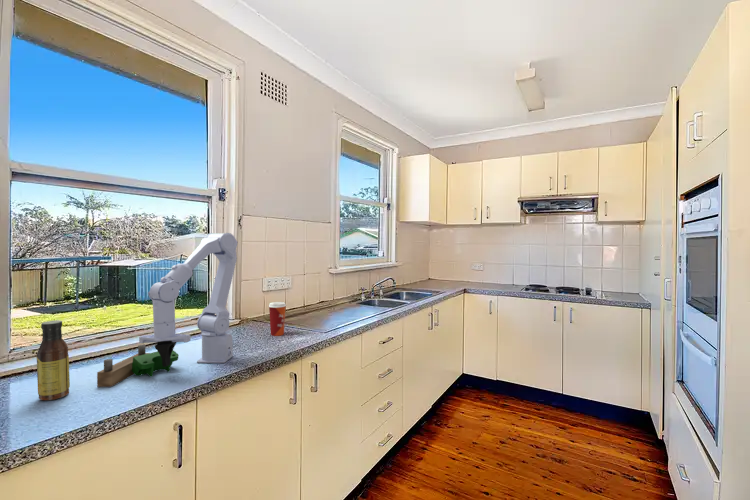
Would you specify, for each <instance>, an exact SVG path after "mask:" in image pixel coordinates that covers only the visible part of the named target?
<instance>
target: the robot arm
mask: <svg viewBox="0 0 750 500" xmlns="http://www.w3.org/2000/svg"><path fill="white" fill-rule="evenodd" d="M237 248H238V241H237V238H236V237H235V235H233V233H230V232H225V233H223V232H221V233H220V232H219V233H216V232H215V233H214V232H210V233H207V235H205V237H203V238H202V239H201V241H200V243H199V245H197V247H196V248H195V249H194V250H193V251H192V253H191V254H190V255H189V256H188V257H187V258H186V260H184V262H183V263H177V264H173V265H172V266H171V269H170V270H169V271H168V273H166V274H165V276H162V277H161V278H160V282H159V281H158V282H155V283H154V284H152V286H151V287H150V289H149V291H148V292H147V295H148V297H149V299H150V300H151V301H152V315H153V318H152V319H153V321H152V322H153V334H151V335H150V334H146V335H145V334H144V335H142V336H139V337H138V342H139V344H144V343H151V344H152V343H156V345H154V348H155V350H156V352H157V351H158V352H159V354H160V356H161V358H162V365H163V367H167V366H168V365H170V362H171V358H170V357H171V353H172V351H174V349H175V346H176V344H177V343H188V342H191V334H186V333H185V334H183V333H176V311H175V309H176V308H175V307H176V306H175V299H176V298H178V296H179V294H180V293H179V292H180V290H181V288H182V287H183V286H184V285H185V284H186V283H187V282H188V281H189V280H190V279H191V278H192V277H193V270H194V269H195V268H196V267H197V266H198V265H199V264H200V263H202V262H203V260H205V259H206V258H207V257H208V256H209V255H210V254H211V255H212V254H213V255H214V256H215V257H216V259H217V260H218V261H219V262H218V267H217V271H216V274H215V278H214V281H213V282H214V283H213V287H212V290H211V295H210V300H209V303H208V305H207V306H205V307H204V308H203V309H202V312H201V314H200V316H199V317H198V319H197V322H196V323H197V325H196V326H197V328H198V330H199V331H200V334H201V358H200V359H198V360H197V361H196V363H197V364H199V363H200V364H201V363H206V364H207V363H209V364H211V363H212V364H214V363H216V364H217V363H220V364H224V363H226V362H227V361H229V360H230V359H231V358H233V357H234V354H233V353H234V352H233V349H234V348H233V346H234V345H233V344H234V343H233V336H232V334H231V333H227V331H228V330H229V328H230V312H229V310H228V309H227V307H226V305H227V304H228V303H227V301H228V298H229V294H230V289H231V286H232V285H231V284H232V281H233V275H234V273H235V270H236V269H235V268H236V263H237V259H238V257H237Z"/></svg>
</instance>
